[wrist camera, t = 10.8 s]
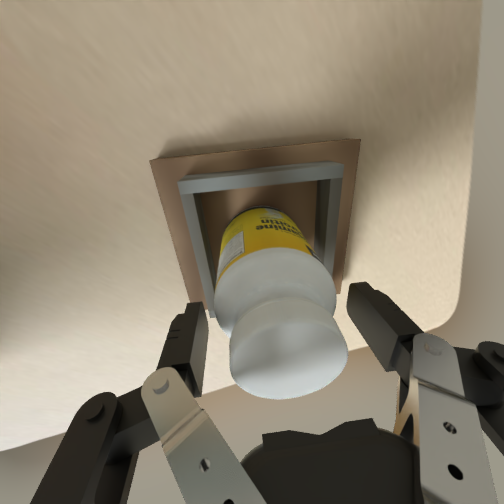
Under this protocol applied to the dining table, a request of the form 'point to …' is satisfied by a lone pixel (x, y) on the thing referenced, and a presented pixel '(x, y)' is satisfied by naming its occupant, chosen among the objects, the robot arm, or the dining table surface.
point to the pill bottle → (276, 307)
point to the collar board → (256, 202)
